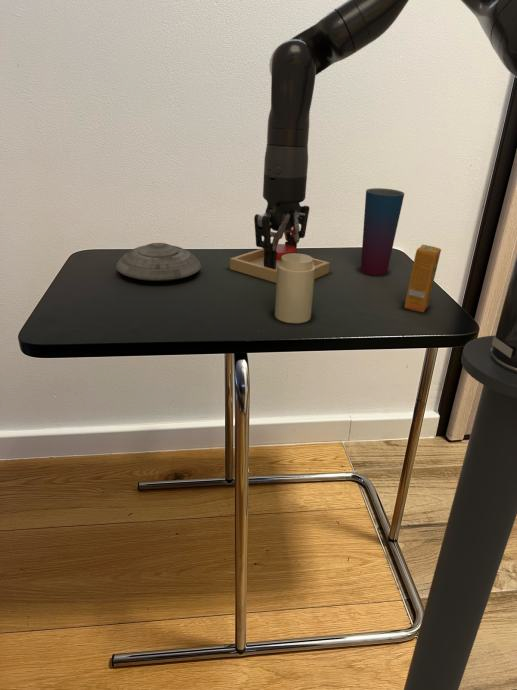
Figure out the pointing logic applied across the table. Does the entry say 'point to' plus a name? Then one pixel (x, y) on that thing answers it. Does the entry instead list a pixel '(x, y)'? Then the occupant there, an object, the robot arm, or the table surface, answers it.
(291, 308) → the jar
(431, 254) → the supplement box
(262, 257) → the tray
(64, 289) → the table surface
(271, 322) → the table surface
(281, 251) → the lid
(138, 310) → the table surface
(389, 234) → the cup
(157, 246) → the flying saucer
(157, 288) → the table surface
